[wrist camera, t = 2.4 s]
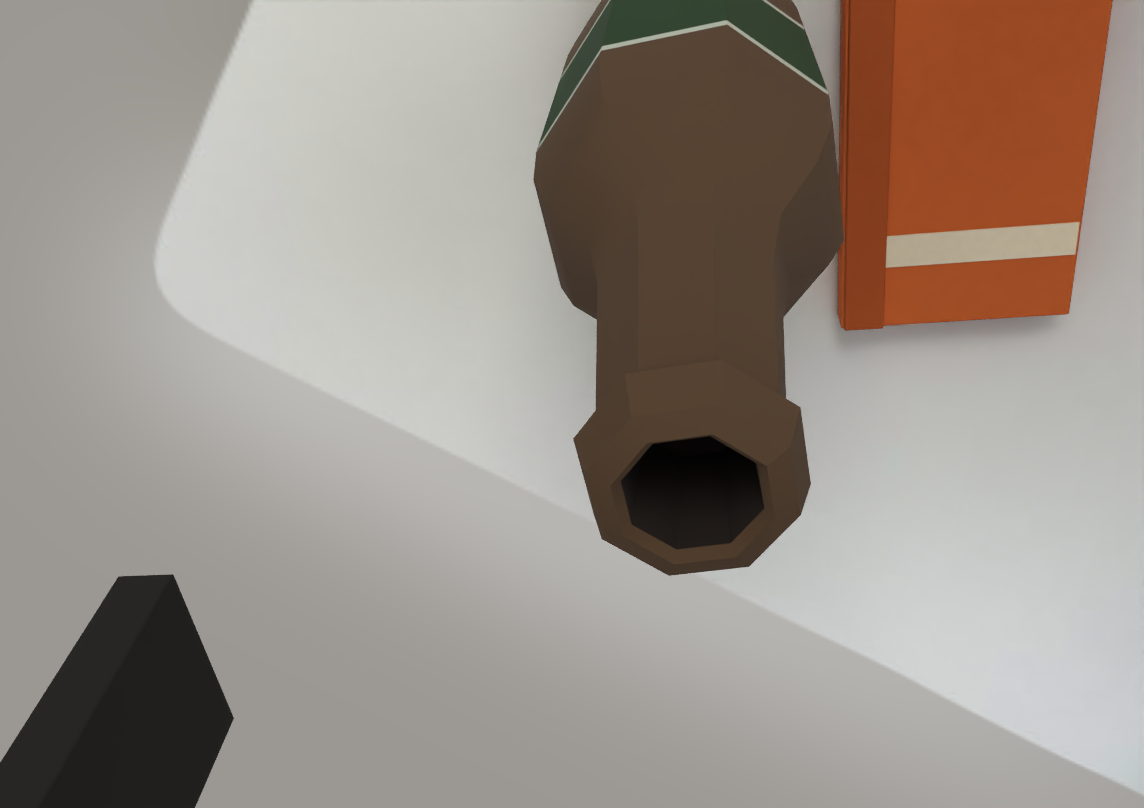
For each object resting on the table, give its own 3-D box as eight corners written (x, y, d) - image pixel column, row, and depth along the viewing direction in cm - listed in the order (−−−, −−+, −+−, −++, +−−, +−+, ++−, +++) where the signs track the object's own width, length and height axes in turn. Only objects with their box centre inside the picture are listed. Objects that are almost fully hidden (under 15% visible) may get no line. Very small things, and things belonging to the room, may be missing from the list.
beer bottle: (526, 28, 36) (331, 433, 16) (728, -118, 33) (795, 155, 13) (653, 210, 39) (622, 740, 19) (847, 91, 36) (1049, 569, 16)
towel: (1059, 299, 40) (1070, 317, 39) (837, 313, 41) (841, 331, 40) (1147, -361, 29) (1167, -363, 28) (844, -317, 30) (850, -319, 29)
